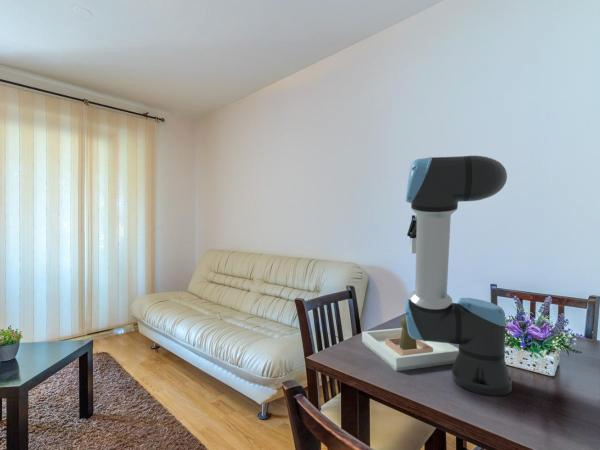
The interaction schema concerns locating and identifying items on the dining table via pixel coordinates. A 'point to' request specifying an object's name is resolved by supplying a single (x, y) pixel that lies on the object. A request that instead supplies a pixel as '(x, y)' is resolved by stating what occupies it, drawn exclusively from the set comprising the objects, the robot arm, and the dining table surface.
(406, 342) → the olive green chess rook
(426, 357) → the walled box
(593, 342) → the dining table surface
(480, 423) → the dining table surface
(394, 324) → the dining table surface
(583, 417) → the dining table surface
